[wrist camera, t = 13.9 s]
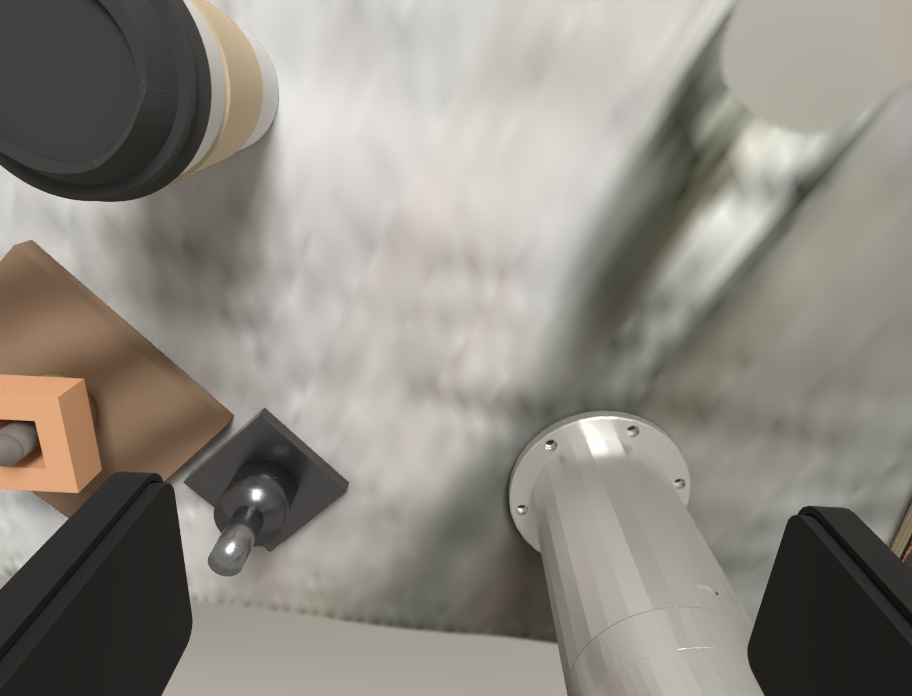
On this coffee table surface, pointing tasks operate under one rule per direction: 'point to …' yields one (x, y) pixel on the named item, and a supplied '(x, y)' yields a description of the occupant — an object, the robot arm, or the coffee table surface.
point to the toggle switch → (97, 375)
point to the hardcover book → (904, 540)
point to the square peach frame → (50, 433)
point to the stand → (262, 489)
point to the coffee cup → (126, 93)
